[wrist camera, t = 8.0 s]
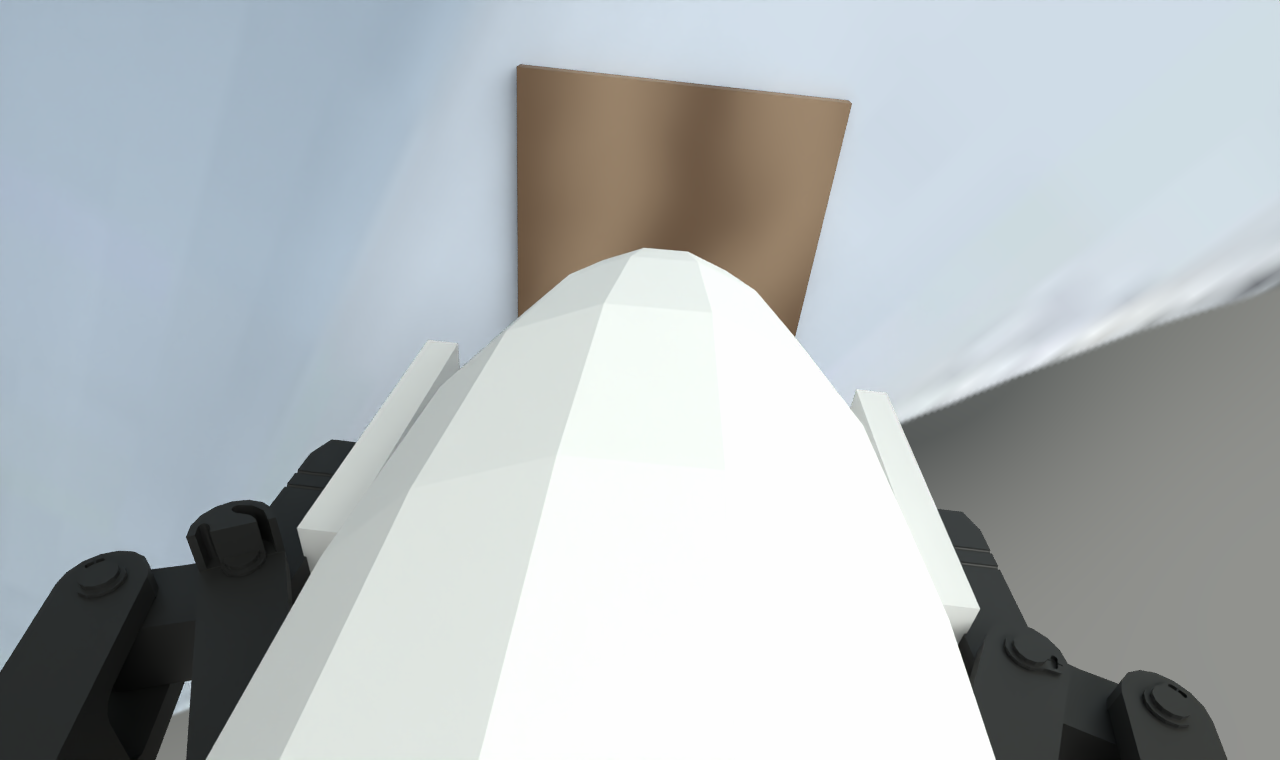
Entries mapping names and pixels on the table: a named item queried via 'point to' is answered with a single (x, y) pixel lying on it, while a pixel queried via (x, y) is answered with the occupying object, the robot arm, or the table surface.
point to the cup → (622, 558)
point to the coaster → (672, 178)
